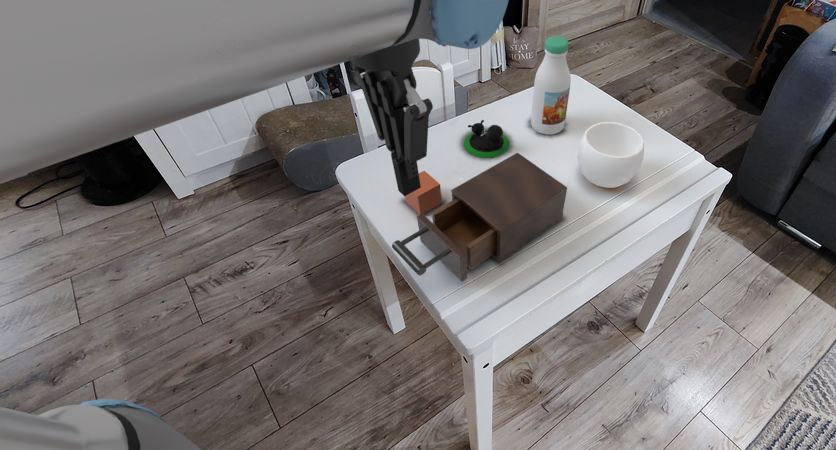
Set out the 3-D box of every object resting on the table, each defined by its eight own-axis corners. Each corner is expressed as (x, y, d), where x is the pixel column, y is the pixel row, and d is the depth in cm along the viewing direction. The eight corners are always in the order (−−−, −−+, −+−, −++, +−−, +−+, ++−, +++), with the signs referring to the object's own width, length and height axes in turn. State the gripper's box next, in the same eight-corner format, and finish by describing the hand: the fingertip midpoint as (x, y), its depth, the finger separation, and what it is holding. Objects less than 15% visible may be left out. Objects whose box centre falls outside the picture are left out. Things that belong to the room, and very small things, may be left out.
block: (420, 215, 85) (417, 196, 81) (405, 201, 87) (401, 182, 83) (442, 203, 87) (440, 184, 83) (426, 189, 89) (424, 170, 86)
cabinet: (499, 263, 78) (500, 231, 72) (453, 221, 84) (451, 189, 78) (561, 219, 85) (567, 187, 79) (515, 184, 91) (517, 152, 85)
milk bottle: (527, 132, 103) (534, 47, 88) (533, 113, 108) (541, 29, 93) (561, 138, 102) (574, 52, 87) (566, 118, 107) (579, 34, 92)
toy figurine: (487, 124, 104) (487, 102, 100) (518, 144, 100) (520, 121, 95) (454, 142, 100) (452, 120, 95) (485, 164, 95) (485, 142, 91)
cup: (564, 163, 96) (570, 125, 88) (617, 153, 98) (627, 115, 91) (589, 203, 88) (598, 165, 81) (646, 191, 90) (659, 153, 83)
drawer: (430, 304, 71) (425, 280, 66) (389, 260, 76) (383, 235, 72) (525, 237, 80) (528, 212, 76) (483, 203, 86) (483, 177, 81)
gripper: (448, 30, 44) (460, 202, 62) (376, -12, 50) (406, 154, 68) (380, 55, 41) (413, 229, 58) (313, 6, 47) (361, 176, 65)
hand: (409, 189), depth 63 cm, fingers closed
